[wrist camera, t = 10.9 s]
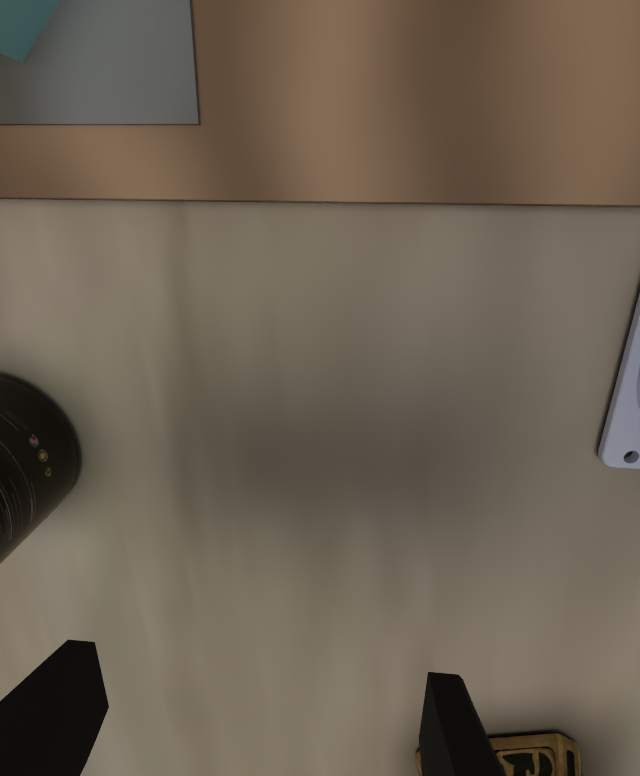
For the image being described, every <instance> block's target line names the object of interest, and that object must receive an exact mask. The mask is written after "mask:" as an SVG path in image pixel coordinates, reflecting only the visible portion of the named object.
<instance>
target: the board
mask: <svg viewBox="0 0 640 776" xmlns="http://www.w3.org/2000/svg"><path fill="white" fill-rule="evenodd" d="M0 199H53V200H132V201H210V202H289V203H368V204H447V205H526V206H604V207H640V0H61V1H60V2H59V4H58V5H57V7H56V9H55V10H54V12H53V14H52V15H51V17H50V19H49V20H48V22H47V23H46V25H45V27H44V28H43V30H42V32H41V33H40V35H39V37H38V38H37V40H36V41H35V43H34V45H33V46H32V48H31V50H30V51H29V53H28V55H27V56H26V58H25V59H24V61H23V63H20V62H18V61H16V60H14V59H12V58H9V57H7V56H5V55H3V54H1V53H0Z"/></svg>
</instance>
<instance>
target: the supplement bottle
mask: <svg viewBox="0 0 640 776" xmlns="http://www.w3.org/2000/svg"><path fill="white" fill-rule="evenodd" d="M76 471H77V453H76V447H75V444H74V440H73V438H72V435H71V433H70V431H69V428H68V427H67V425H66V423H65V422H64V420H63V419H62V417H61V416H60V415H59V413H58V412H57V411H56V410H55V409H54V408H53V407H52V406H51V405H50V404H49V403H48V402H47V401H46V400H45V399H44V398H42V397H41V396H40V395H38V394H37V393H36V392H34V391H32V390H31V389H29V388H27V387H25V386H24V385H22V384H20V383H17V382H15V381H13V380H10V379H7V378H3V377H0V564H1V563H2V562H3V561H4V560H5V559H6V558H7V557H8V556H9V555H10V554H11V553H12V552H13V551H14V550H15V549H16V548H17V547H18V546H19V545H20V544H21V543H22V542H23V541H24V540H25V539H26V538H27V537H28V536H29V535H30V534H31V533H32V532H33V531H34V530H35V529H36V528H37V527H38V526H39V525H40V524H41V523H42V522H43V521H44V520H45V519H46V518H47V517H48V516H49V514H50V513H51V512H52V511H53V510H54V509H55V508H56V507H57V506H58V505H59V504H60V503H61V502H62V501H63V499H64V498H65V497H66V496H67V494H68V493H69V491H70V489H71V487H72V485H73V483H74V480H75V477H76Z"/></svg>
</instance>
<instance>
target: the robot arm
mask: <svg viewBox="0 0 640 776" xmlns="http://www.w3.org/2000/svg"><path fill="white" fill-rule="evenodd" d="M629 451H633V453H632V455H631V456H629V457H628V458H624V455H625V454H626V453H627V452H629ZM598 456H599V458H600V460H601V461H602V462H603V463H604V464H605V465H607V466H608V467H613V468H629V469H640V294H639V298H638V302H637V305H636V309H635V313H634V317H633V321H632V324H631V328H630V332H629V336H628V340H627V343H626V347H625V351H624V355H623V359H622V362H621V366H620V370H619V374H618V378H617V382H616V385H615V389H614V393H613V397H612V401H611V404H610V408H609V412H608V416H607V420H606V423H605V427H604V431H603V435H602V439H601V443H600V446H599V450H598ZM108 707H109V705H108V700H107V696H106V691H105V687H104V682H103V678H102V673H101V669H100V664H99V660H98V655H97V651H96V646H95V642H88V641H77V640H67V641H66V642H65V643H64V644H63V645H62V646H61V647H59V648H58V649H57V650H56V651H55V652H54V653H53V654H52V655H50V656H49V657H48V658H47V659H46V660H45V661H44V662H43V663H42V664H41V665H39V666H38V667H37V668H36V669H35V670H34V671H33V672H32V673H31V674H30V675H29V676H27V677H26V678H25V679H24V680H23V681H22V682H21V683H20V684H19V685H18V686H17V687H15V688H14V689H13V690H12V691H11V692H10V693H9V694H8V695H7V696H6V697H4V698H3V699H2V700H1V701H0V776H80V774H81V772H82V770H83V768H84V766H85V764H86V762H87V760H88V757H89V755H90V752H91V750H92V748H93V745H94V743H95V741H96V738H97V736H98V733H99V731H100V728H101V725H102V723H103V720H104V718H105V715H106V713H107V710H108ZM419 744H420V758H421V772H422V776H507V775H506V773H505V771H504V769H503V767H502V765H501V763H500V761H499V759H498V757H497V755H496V753H495V751H494V749H493V747H492V745H491V743H490V741H489V738H488V736H487V734H486V732H485V730H484V728H483V726H482V723H481V721H480V719H479V717H478V714H477V712H476V710H475V708H474V705H473V703H472V701H471V698H470V696H469V693H468V691H467V689H466V686H465V683H464V681H463V679H462V678H461V677H460V676H459V675H456V674H445V673H434V672H428V677H427V684H426V691H425V698H424V706H423V713H422V720H421V727H420V734H419Z"/></svg>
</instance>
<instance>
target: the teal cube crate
mask: <svg viewBox="0 0 640 776" xmlns="http://www.w3.org/2000/svg"><path fill="white" fill-rule="evenodd" d="M60 1H61V0H0V53H1V54H3V55H5V56H7V57H9V58H12V59H14V60H16V61H18V62H20V63H23V61H24V59H25V58H26V56H27V55H28V53H29V51H30V50H31V48H32V46H33V45H34V43H35V41H36V40H37V38H38V37H39V35H40V33H41V32H42V30H43V28H44V27H45V25H46V23H47V22H48V20H49V19H50V17H51V15H52V14H53V12H54V10H55V9H56V7H57V5H58V4H59V2H60Z"/></svg>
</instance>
